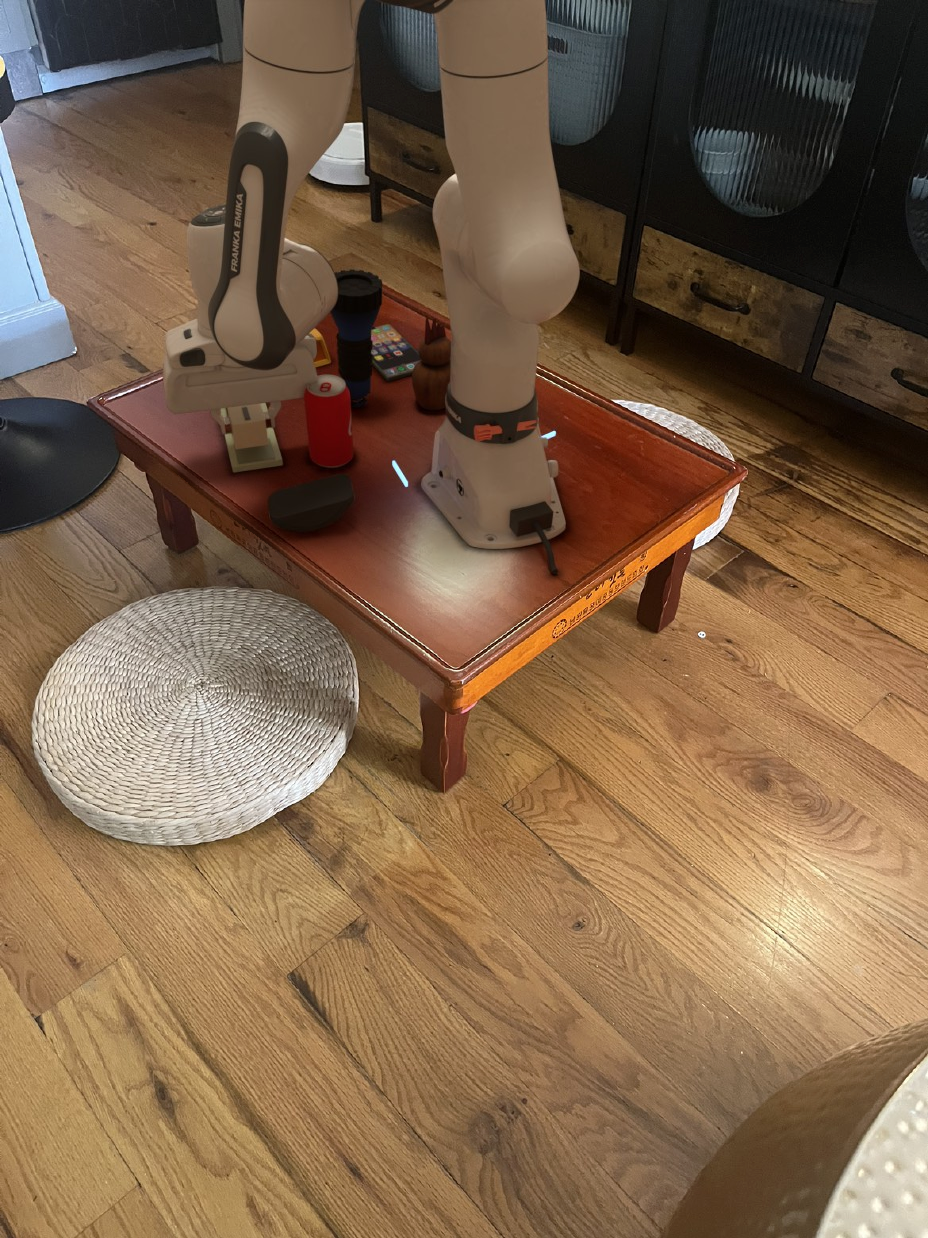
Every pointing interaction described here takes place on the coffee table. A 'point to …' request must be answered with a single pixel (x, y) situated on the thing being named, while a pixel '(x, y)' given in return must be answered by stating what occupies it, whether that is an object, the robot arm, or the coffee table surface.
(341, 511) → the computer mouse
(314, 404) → the beverage can
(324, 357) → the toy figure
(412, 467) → the coffee table surface
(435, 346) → the wooden figurine
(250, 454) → the beige tray
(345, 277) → the flashlight
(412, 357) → the smartphone
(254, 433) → the letter i block
